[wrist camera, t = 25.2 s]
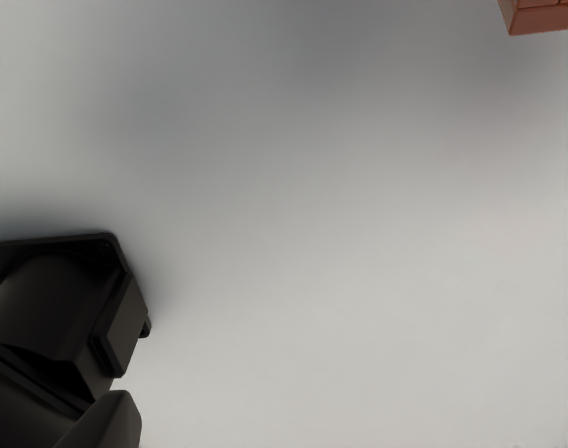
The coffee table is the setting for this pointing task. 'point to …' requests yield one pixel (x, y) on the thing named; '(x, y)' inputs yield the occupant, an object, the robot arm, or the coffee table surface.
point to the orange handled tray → (534, 16)
